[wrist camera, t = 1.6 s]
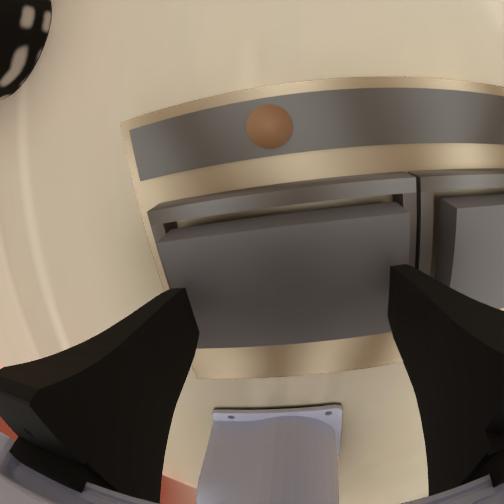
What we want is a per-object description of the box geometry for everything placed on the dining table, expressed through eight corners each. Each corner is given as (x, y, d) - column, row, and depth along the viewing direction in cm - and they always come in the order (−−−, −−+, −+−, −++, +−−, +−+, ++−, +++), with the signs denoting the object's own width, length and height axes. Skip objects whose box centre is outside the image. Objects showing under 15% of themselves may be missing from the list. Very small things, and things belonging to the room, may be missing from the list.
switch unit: (201, 365, 19) (191, 394, 16) (132, 121, 13) (103, 124, 11) (593, 290, 13) (608, 304, 10) (613, 122, 7) (633, 128, 5)
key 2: (200, 328, 14) (191, 348, 13) (171, 229, 12) (157, 242, 11) (393, 310, 13) (402, 330, 11) (396, 201, 11) (409, 213, 9)
